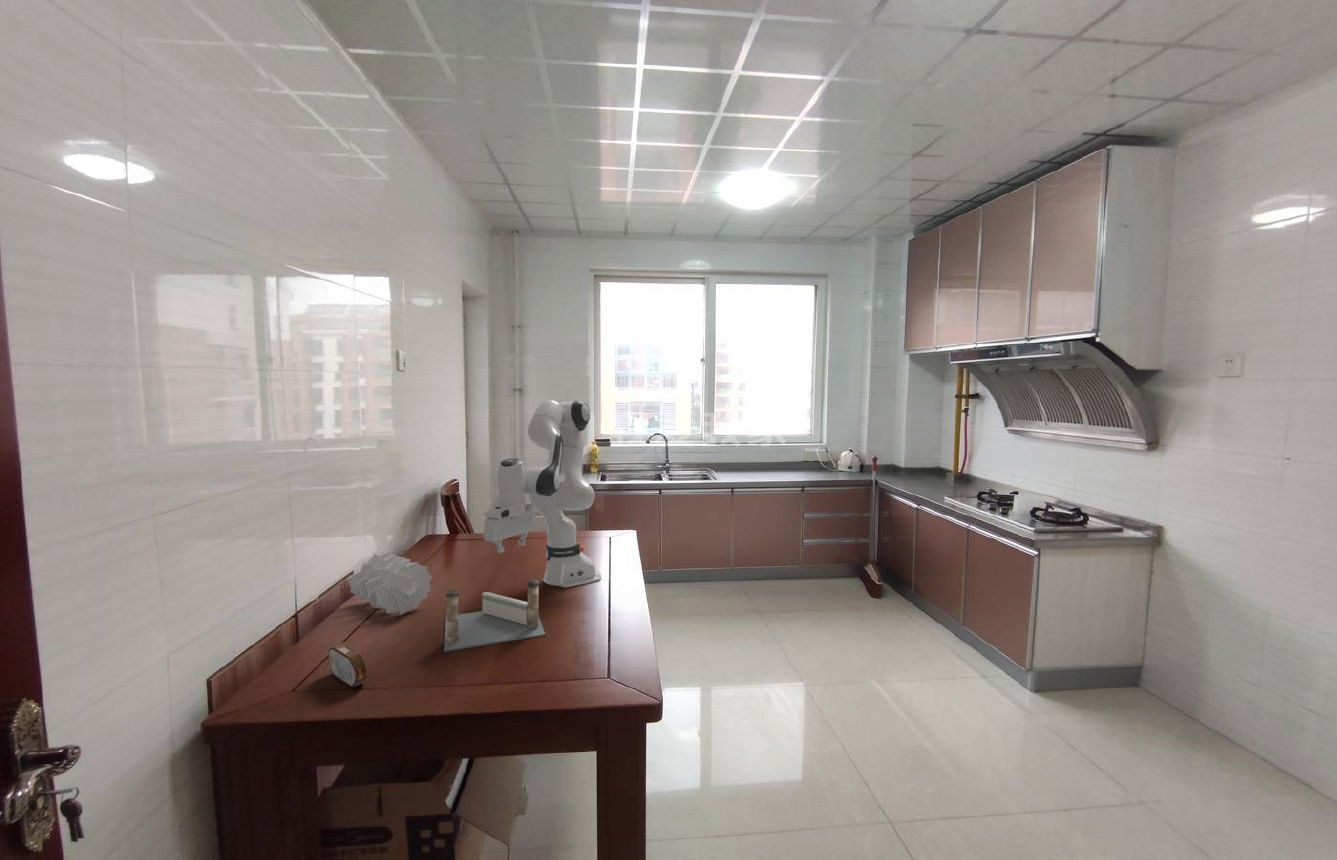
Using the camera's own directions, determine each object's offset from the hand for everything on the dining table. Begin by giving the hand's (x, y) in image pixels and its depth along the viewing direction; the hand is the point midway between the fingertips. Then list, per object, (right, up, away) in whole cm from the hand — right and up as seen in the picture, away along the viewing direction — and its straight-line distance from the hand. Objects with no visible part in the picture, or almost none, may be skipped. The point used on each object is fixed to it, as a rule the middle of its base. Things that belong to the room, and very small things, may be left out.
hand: (511, 549), depth 170 cm
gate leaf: (0, -21, -6) cm, 22 cm away
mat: (-2, -22, -10) cm, 24 cm away
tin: (-29, -24, -42) cm, 56 cm away
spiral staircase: (-42, -21, +4) cm, 47 cm away
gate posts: (0, -22, -16) cm, 27 cm away
